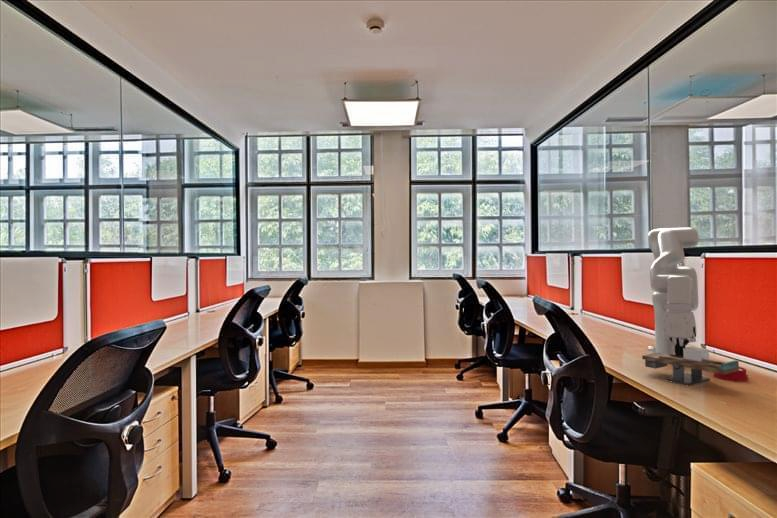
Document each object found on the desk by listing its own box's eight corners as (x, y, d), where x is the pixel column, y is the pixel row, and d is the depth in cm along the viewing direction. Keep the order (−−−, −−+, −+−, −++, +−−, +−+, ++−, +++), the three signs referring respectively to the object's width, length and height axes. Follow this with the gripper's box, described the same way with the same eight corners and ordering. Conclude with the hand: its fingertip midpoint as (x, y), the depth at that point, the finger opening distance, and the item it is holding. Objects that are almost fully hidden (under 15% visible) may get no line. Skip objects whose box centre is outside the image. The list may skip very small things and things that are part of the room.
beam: (642, 366, 169) (642, 350, 169) (657, 363, 173) (656, 347, 173) (724, 383, 144) (724, 364, 144) (739, 379, 149) (738, 360, 149)
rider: (683, 361, 157) (683, 348, 157) (691, 359, 160) (690, 346, 160) (701, 364, 152) (701, 350, 152) (708, 363, 154) (708, 349, 154)
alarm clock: (719, 371, 158) (707, 354, 171) (718, 386, 159) (706, 368, 173) (754, 374, 154) (739, 356, 167) (752, 389, 155) (738, 371, 168)
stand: (665, 380, 159) (664, 362, 159) (687, 375, 166) (686, 357, 166) (688, 386, 152) (688, 367, 152) (710, 380, 159) (710, 361, 159)
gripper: (653, 306, 166) (654, 353, 166) (695, 310, 153) (696, 360, 152) (664, 305, 169) (665, 351, 169) (706, 309, 156) (707, 358, 156)
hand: (680, 355), depth 161 cm, fingers closed
